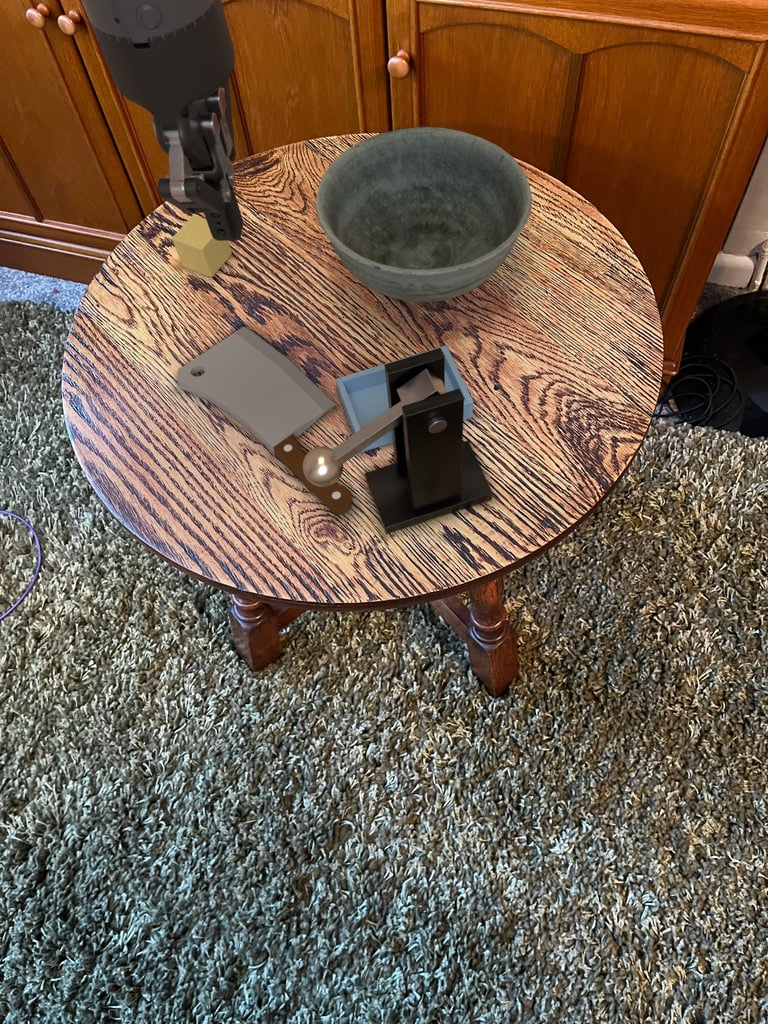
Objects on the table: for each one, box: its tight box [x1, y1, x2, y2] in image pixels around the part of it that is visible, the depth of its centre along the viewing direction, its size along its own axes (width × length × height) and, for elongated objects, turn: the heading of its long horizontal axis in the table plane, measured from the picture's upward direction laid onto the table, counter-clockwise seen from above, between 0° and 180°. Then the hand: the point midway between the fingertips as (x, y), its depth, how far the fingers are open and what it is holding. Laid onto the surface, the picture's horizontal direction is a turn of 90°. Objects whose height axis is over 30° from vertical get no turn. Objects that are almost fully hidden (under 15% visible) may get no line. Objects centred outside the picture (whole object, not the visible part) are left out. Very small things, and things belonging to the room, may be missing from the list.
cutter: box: [364, 347, 494, 535], centre depth 62 cm, size 10×6×16 cm, turn 108°
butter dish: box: [335, 345, 474, 453], centre depth 73 cm, size 11×7×2 cm, turn 108°
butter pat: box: [171, 214, 233, 278], centre depth 83 cm, size 4×4×4 cm
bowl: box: [315, 126, 533, 303], centre depth 78 cm, size 21×21×10 cm
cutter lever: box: [303, 369, 447, 487], centre depth 59 cm, size 13×3×3 cm
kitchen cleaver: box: [177, 326, 353, 516], centre depth 74 cm, size 24×1×10 cm
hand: (229, 233), depth 58 cm, fingers closed
